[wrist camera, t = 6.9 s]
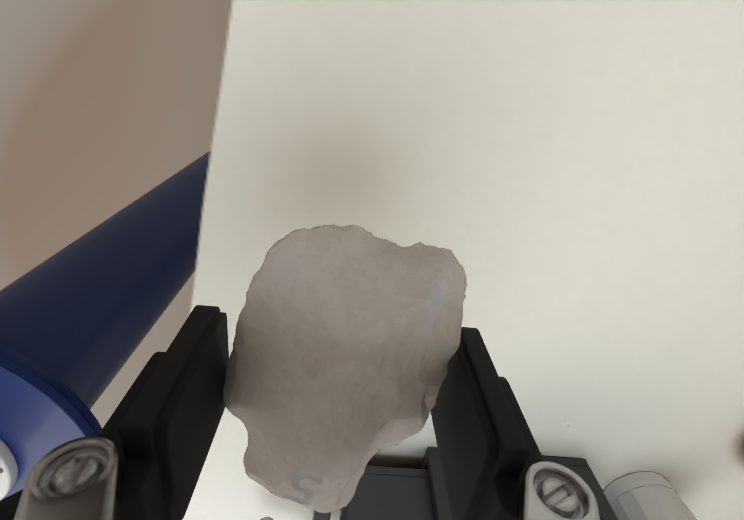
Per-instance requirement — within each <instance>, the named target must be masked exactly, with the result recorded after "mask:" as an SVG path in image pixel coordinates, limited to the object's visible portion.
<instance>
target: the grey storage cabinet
mask: <svg viewBox="0 0 744 520" xmlns="http://www.w3.org/2000/svg"><path fill="white" fill-rule="evenodd" d="M542 458H543V460H544V462H546V461H549V462H553V463H557V464H560V465H562V466H564V467H566V468H568V469H570V470H572V471H573V472H574V473H576V474H577V475H578V476H580V477H581V478H582V480H583V481H584V482H585V483H586V484H587V485H588V486H589V488H590V489H591V491H592V492H593V494H594V496H595V499H596V502H597V505H598V510H599V516H600V517H602V518H603V519H604V520H618V518H617V516H616V515H615V513H614V511H613V509H612V507H611V505H610V504H609V502H608V500H607V498H606V496H605V494H604V492H603V491H602V489H601V487H600V485H599V483H598V481H597V480H596V478H595V476H594V474H593V472H592V470H591V468H590V467H589V465H588V463H587V461H586V460H585V459H578V458H564V457H551V456H542ZM421 469H426V470H428V471H429V478H430V484H431V490H432V497H433V503H434V510H435V516H436V520H452V515H451V510H450V505H449V500H448V495H447V490H446V485H445V480H444V475H443V470H442V465H441V460H440V455H439V450H438V448H429V447H428V448H427V451H426V454H425V458H424V461H423V464H422V468H421Z"/></svg>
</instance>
